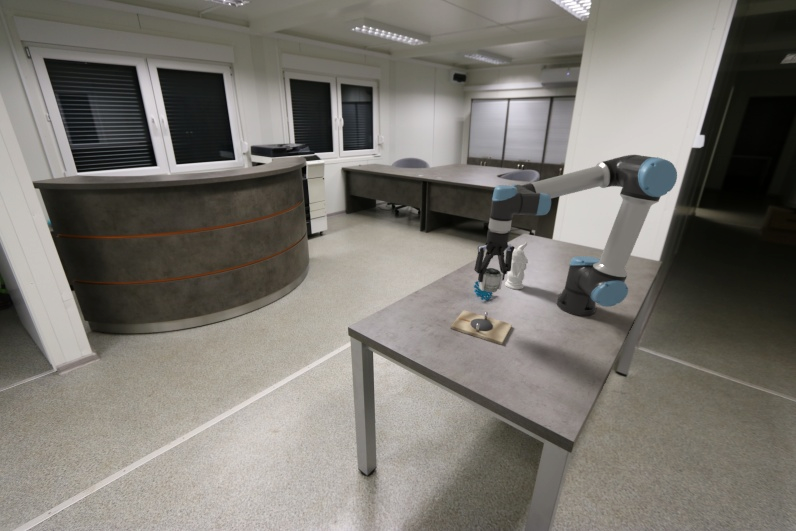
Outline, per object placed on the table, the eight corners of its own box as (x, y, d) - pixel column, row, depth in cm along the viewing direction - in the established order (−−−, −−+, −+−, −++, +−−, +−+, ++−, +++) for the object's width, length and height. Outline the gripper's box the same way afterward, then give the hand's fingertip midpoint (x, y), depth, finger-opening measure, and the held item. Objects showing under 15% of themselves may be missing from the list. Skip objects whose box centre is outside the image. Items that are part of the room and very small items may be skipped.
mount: (511, 326, 137) (512, 323, 137) (501, 344, 126) (502, 341, 126) (463, 312, 147) (463, 310, 146) (450, 328, 136) (450, 325, 135)
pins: (487, 319, 140) (488, 312, 139) (478, 332, 131) (479, 325, 130) (484, 318, 141) (485, 311, 140) (475, 331, 132) (476, 324, 131)
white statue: (515, 292, 165) (522, 249, 157) (493, 283, 174) (498, 241, 165) (529, 284, 173) (536, 243, 164) (507, 276, 181) (512, 236, 172)
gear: (479, 300, 153) (472, 279, 157) (471, 305, 158) (464, 284, 162) (498, 298, 159) (490, 278, 162) (489, 302, 164) (482, 283, 167)
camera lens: (488, 294, 129) (491, 274, 126) (477, 287, 134) (480, 268, 131) (501, 291, 131) (504, 272, 128) (490, 284, 137) (493, 265, 134)
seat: (495, 323, 137) (495, 322, 137) (488, 333, 131) (488, 332, 131) (474, 317, 141) (474, 316, 141) (467, 326, 135) (467, 326, 134)
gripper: (517, 226, 129) (507, 282, 138) (469, 227, 125) (462, 285, 134) (529, 232, 122) (517, 291, 131) (478, 234, 118) (470, 294, 127)
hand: (489, 288), depth 133 cm, fingers closed on camera lens, 6 cm apart
